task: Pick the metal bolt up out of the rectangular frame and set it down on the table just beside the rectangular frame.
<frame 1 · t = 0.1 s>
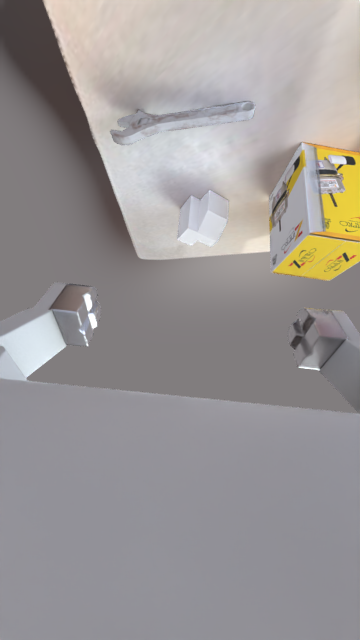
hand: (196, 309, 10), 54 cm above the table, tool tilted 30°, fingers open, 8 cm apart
corner bracket: (203, 204, 74), on the table
packaging box: (312, 177, 62), on the table
wrench: (182, 109, 50), on the table
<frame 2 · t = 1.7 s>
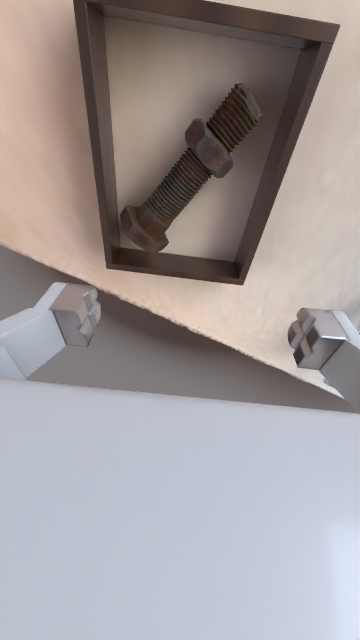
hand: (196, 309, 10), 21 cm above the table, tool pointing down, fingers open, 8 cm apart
rectangular frame: (187, 173, 24), on the table
bolt: (187, 173, 24), on the table
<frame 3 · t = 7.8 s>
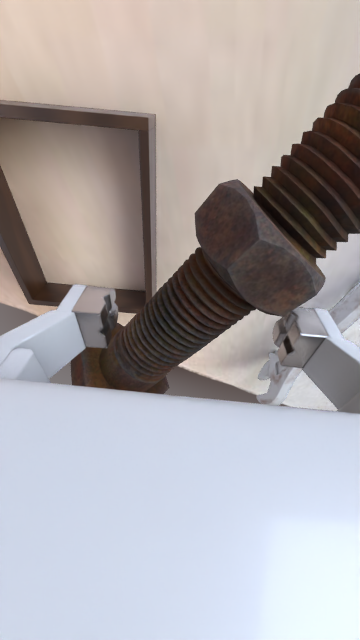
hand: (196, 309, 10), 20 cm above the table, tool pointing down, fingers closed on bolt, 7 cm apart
rectangular frame: (85, 222, 27), on the table
bolt: (203, 272, 12), point 17 cm above the table, touching gripper
wrench: (313, 318, 36), on the table
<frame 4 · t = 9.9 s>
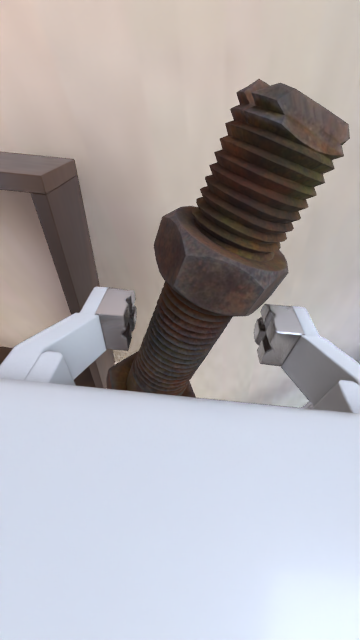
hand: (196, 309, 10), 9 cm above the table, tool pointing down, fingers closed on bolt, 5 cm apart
rectangular frame: (7, 285, 21), on the table
bolt: (199, 287, 13), point 6 cm above the table, touching gripper
when the fingers open (3 cm above the table, at t = 11.3 s): bolt stays where it is, on the table.
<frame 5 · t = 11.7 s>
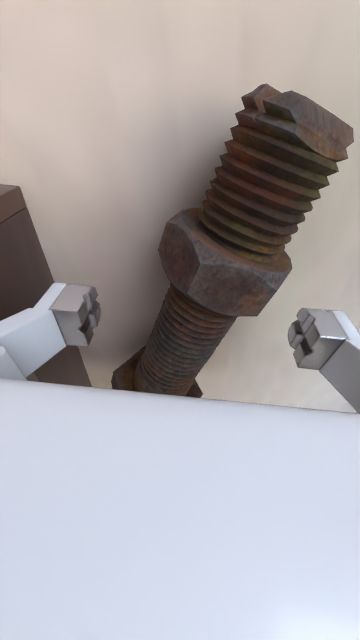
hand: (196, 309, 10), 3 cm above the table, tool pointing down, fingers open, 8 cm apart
bolt: (198, 285, 13), on the table
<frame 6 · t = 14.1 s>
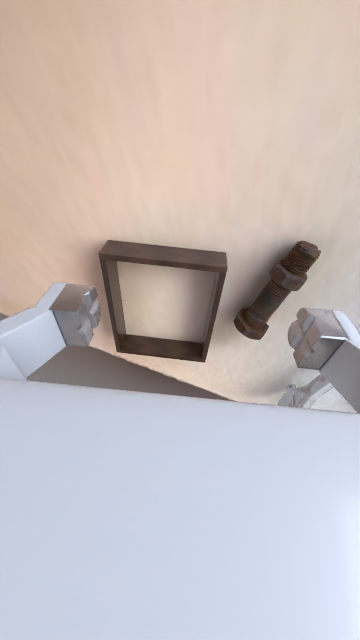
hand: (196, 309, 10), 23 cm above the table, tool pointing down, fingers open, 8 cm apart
rectangular frame: (165, 302, 40), on the table
bolt: (272, 282, 35), on the table
wrench: (322, 364, 47), on the table
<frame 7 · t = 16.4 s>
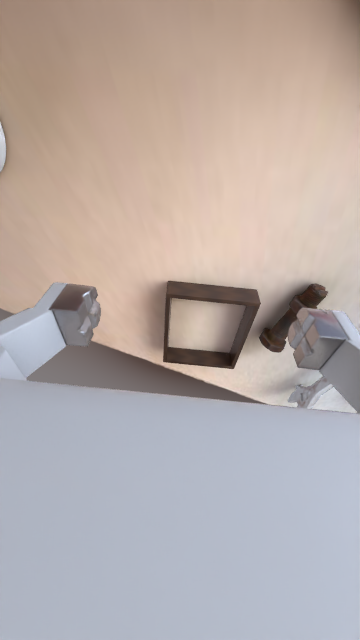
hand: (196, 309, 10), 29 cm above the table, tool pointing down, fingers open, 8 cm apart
rectangular frame: (204, 323, 51), on the table
bolt: (289, 309, 47), on the table
wrench: (325, 368, 59), on the table
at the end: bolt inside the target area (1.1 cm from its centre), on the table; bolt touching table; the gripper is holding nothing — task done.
